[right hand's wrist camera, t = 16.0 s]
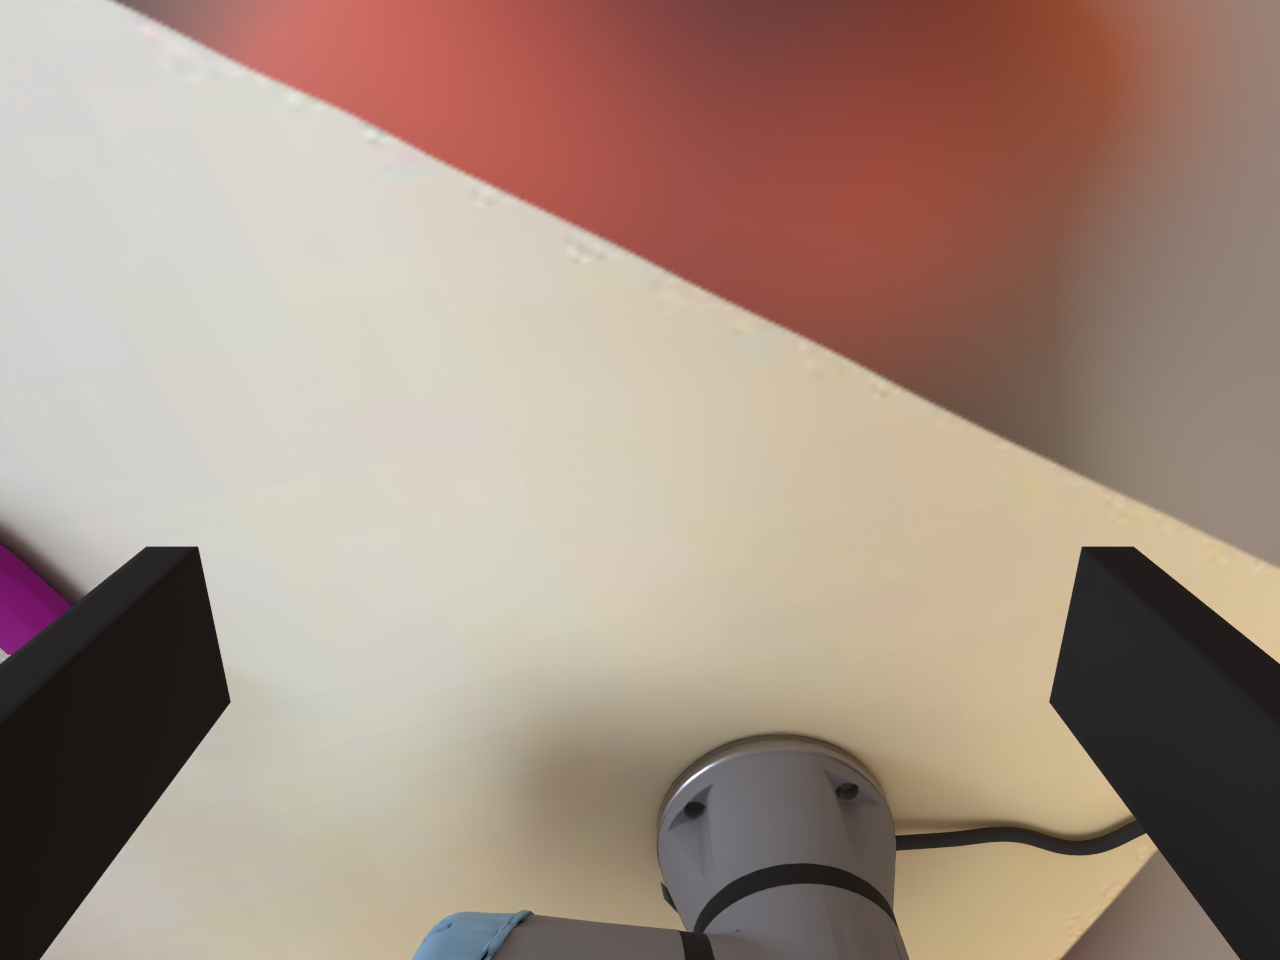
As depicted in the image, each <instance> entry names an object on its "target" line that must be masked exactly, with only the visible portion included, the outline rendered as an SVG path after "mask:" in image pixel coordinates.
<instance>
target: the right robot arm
mask: <svg viewBox="0 0 1280 960" xmlns="http://www.w3.org/2000/svg"><path fill="white" fill-rule="evenodd" d="M230 702H231V701H230V696H229V692H228V687H227V682H226V677H225V673H224V668H223V663H222V658H221V654H220V649H219V644H218V639H217V635H216V630H215V625H214V620H213V616H212V611H211V606H210V601H209V597H208V592H207V587H206V582H205V578H204V573H203V568H202V563H201V558H200V554H199V549H198V547H145V548H144V549H143V550H142V551H140V552H139V553H138V554H137V555H135V556H134V557H133V558H132V559H130V560H129V561H128V562H127V563H126V564H124V565H123V566H122V567H121V568H119V569H118V570H117V571H116V572H114V573H113V574H112V575H111V576H109V577H108V578H107V579H106V580H104V581H103V582H102V583H101V584H99V585H98V586H97V587H96V588H94V589H93V590H92V591H91V592H89V593H88V594H87V595H86V596H84V597H83V598H82V599H81V600H79V601H78V602H77V603H76V604H74V605H73V606H72V607H71V608H69V609H68V610H67V611H66V612H65V613H63V614H62V615H61V616H60V617H58V618H57V619H56V620H55V621H53V622H52V623H51V624H50V625H48V626H47V627H46V628H45V629H43V630H42V631H41V632H40V633H38V634H37V635H36V636H35V637H33V638H32V639H31V640H30V641H28V642H27V643H26V644H25V645H23V646H22V647H21V648H20V649H18V650H17V651H16V652H15V653H13V654H12V655H11V656H10V657H8V658H7V659H6V660H5V661H3V662H2V663H1V664H0V960H40V958H41V957H42V956H43V954H44V953H45V952H46V950H47V949H48V947H49V946H50V945H51V943H52V942H53V941H54V939H55V938H56V937H57V935H58V934H59V933H60V931H61V930H62V929H63V927H64V926H65V925H66V923H67V922H68V921H69V919H70V918H71V917H72V915H73V914H74V912H75V911H76V910H77V908H78V907H79V906H80V904H81V903H82V902H83V900H84V899H85V898H86V896H87V895H88V894H89V892H90V891H91V890H92V888H93V887H94V886H95V884H96V883H97V881H98V880H99V879H100V877H101V876H102V875H103V873H104V872H105V871H106V869H107V868H108V867H109V865H110V864H111V863H112V861H113V860H114V859H115V857H116V856H117V855H118V853H119V852H120V850H121V849H122V848H123V846H124V845H125V844H126V842H127V841H128V840H129V838H130V837H131V836H132V834H133V833H134V832H135V830H136V829H137V828H138V826H139V825H140V824H141V822H142V821H143V819H144V818H145V817H146V815H147V814H148V813H149V811H150V810H151V809H152V807H153V806H154V805H155V803H156V802H157V801H158V799H159V798H160V797H161V795H162V794H163V793H164V791H165V790H166V788H167V787H168V786H169V784H170V783H171V782H172V780H173V779H174V778H175V776H176V775H177V774H178V772H179V771H180V770H181V768H182V767H183V766H184V764H185V763H186V762H187V760H188V759H189V757H190V756H191V755H192V753H193V752H194V751H195V749H196V748H197V747H198V745H199V744H200V743H201V741H202V740H203V739H204V737H205V736H206V735H207V733H208V732H209V731H210V729H211V728H212V726H213V725H214V724H215V722H216V721H217V720H218V718H219V717H220V716H221V714H222V713H223V712H224V710H225V709H226V708H227V706H228V705H229V704H230ZM1049 702H1050V704H1051V705H1052V706H1053V708H1054V709H1055V710H1056V712H1057V713H1058V714H1059V716H1060V717H1061V718H1062V720H1063V721H1064V722H1065V724H1066V725H1067V726H1068V728H1069V729H1070V731H1071V732H1072V733H1073V735H1074V736H1075V737H1076V739H1077V740H1078V741H1079V743H1080V744H1081V745H1082V747H1083V748H1084V749H1085V751H1086V752H1087V753H1088V755H1089V756H1090V757H1091V759H1092V760H1093V762H1094V763H1095V764H1096V766H1097V767H1098V768H1099V770H1100V771H1101V772H1102V774H1103V775H1104V776H1105V778H1106V779H1107V780H1108V782H1109V783H1110V784H1111V786H1112V787H1113V788H1114V790H1115V791H1116V793H1117V794H1118V795H1119V797H1120V798H1121V799H1122V801H1123V802H1124V803H1125V805H1126V806H1127V807H1128V809H1129V810H1130V811H1131V813H1132V814H1133V815H1134V817H1135V818H1136V819H1137V820H1135V821H1133V822H1131V823H1129V824H1127V825H1125V826H1123V827H1121V828H1119V829H1117V830H1115V831H1113V832H1111V833H1109V834H1107V835H1104V836H1101V837H1098V838H1095V839H1091V840H1084V841H1068V840H1062V839H1057V838H1054V837H1050V836H1047V835H1044V834H1041V833H1038V832H1034V831H1030V830H1026V829H1020V828H1011V827H991V828H980V829H972V830H964V831H955V832H944V833H930V834H915V835H900V836H895V828H894V822H893V818H892V814H891V812H890V809H889V807H888V804H887V801H886V799H885V796H884V794H883V791H882V789H881V787H880V785H879V783H878V782H877V780H876V779H875V777H874V776H873V775H872V773H871V772H870V771H869V770H868V769H867V768H866V767H865V766H864V765H863V764H862V763H861V762H859V761H858V760H857V759H856V758H854V757H853V756H851V755H850V754H849V753H847V752H845V751H843V750H842V749H840V748H838V747H835V746H833V745H831V744H828V743H825V742H822V741H819V740H816V739H812V738H807V737H801V736H793V735H766V736H757V737H751V738H747V739H743V740H739V741H735V742H732V743H729V744H727V745H724V746H722V747H720V748H717V749H715V750H713V751H711V752H710V753H708V754H706V755H704V756H703V757H701V758H700V759H698V760H697V761H695V762H694V763H693V764H692V765H690V766H689V767H688V768H687V769H686V770H685V771H684V772H683V773H682V774H681V775H680V776H679V777H678V778H677V779H676V781H675V782H674V783H673V784H672V786H671V787H670V789H669V790H668V792H667V794H666V796H665V798H664V800H663V802H662V805H661V808H660V811H659V815H658V821H657V854H658V861H659V865H660V869H661V872H662V876H663V879H664V882H665V884H666V886H667V887H666V886H665V885H664V884H663V883H662V882H661V886H662V890H663V895H664V899H665V900H666V901H667V902H668V903H669V904H670V905H671V906H672V907H673V908H674V909H675V910H676V911H677V912H678V913H679V915H680V918H681V920H682V922H683V924H684V927H685V929H686V931H687V932H685V931H679V930H672V929H662V928H652V927H641V926H631V925H621V924H610V923H600V922H591V921H582V920H574V919H566V918H557V917H549V916H540V915H534V913H532V912H531V911H527V910H523V911H520V912H518V913H516V914H509V913H481V912H460V913H456V914H453V915H451V916H448V917H446V918H445V919H443V920H442V921H440V922H439V923H438V924H437V925H436V926H435V927H433V929H432V930H431V931H430V932H429V933H428V935H427V936H426V937H425V939H424V940H423V942H422V944H421V945H420V946H419V948H418V950H417V952H416V953H415V955H414V957H413V959H412V960H909V957H908V954H907V951H906V948H905V945H904V942H903V940H902V937H901V934H900V932H899V929H898V926H897V922H896V919H895V916H894V913H893V901H894V880H895V858H896V851H897V850H911V849H926V848H940V847H953V846H963V845H971V844H979V843H987V842H1018V843H1024V844H1028V845H1032V846H1035V847H1038V848H1041V849H1045V850H1048V851H1051V852H1055V853H1060V854H1066V855H1091V854H1098V853H1102V852H1105V851H1108V850H1111V849H1114V848H1116V847H1119V846H1121V845H1123V844H1125V843H1127V842H1129V841H1131V840H1133V839H1135V838H1137V837H1139V836H1141V835H1143V834H1145V833H1147V834H1148V836H1149V837H1150V838H1151V840H1152V841H1153V842H1154V844H1155V845H1156V846H1157V848H1158V849H1159V850H1160V852H1161V853H1162V855H1163V856H1164V857H1165V859H1166V860H1167V861H1168V863H1169V864H1170V865H1171V867H1172V868H1173V869H1174V871H1175V872H1176V873H1177V875H1178V876H1179V877H1180V879H1181V880H1182V881H1183V883H1184V884H1185V886H1186V887H1187V888H1188V890H1189V891H1190V892H1191V894H1192V895H1193V896H1194V898H1195V899H1196V900H1197V902H1198V903H1199V904H1200V906H1201V907H1202V908H1203V910H1204V911H1205V912H1206V914H1207V915H1208V917H1209V918H1210V919H1211V921H1212V922H1213V923H1214V925H1215V926H1216V927H1217V929H1218V930H1219V931H1220V933H1221V934H1222V935H1223V937H1224V938H1225V939H1226V941H1227V942H1228V943H1229V945H1230V946H1231V947H1232V949H1233V950H1234V952H1235V953H1236V954H1237V955H1238V957H1239V958H1240V960H1280V664H1279V663H1278V662H1277V661H1275V660H1274V659H1273V658H1272V657H1270V656H1269V655H1268V654H1267V653H1265V652H1264V651H1263V650H1262V649H1260V648H1259V647H1258V646H1257V645H1255V644H1254V643H1253V642H1252V641H1250V640H1249V639H1248V638H1247V637H1245V636H1244V635H1243V634H1242V633H1240V632H1239V631H1238V630H1237V629H1235V628H1234V627H1233V626H1232V625H1230V624H1229V623H1228V622H1227V621H1225V620H1224V619H1223V618H1222V617H1220V616H1219V615H1218V614H1217V613H1215V612H1214V611H1213V610H1212V609H1211V608H1209V607H1208V606H1207V605H1206V604H1204V603H1203V602H1202V601H1201V600H1199V599H1198V598H1197V597H1196V596H1194V595H1193V594H1192V593H1191V592H1189V591H1188V590H1187V589H1186V588H1184V587H1183V586H1182V585H1181V584H1179V583H1178V582H1177V581H1176V580H1174V579H1173V578H1172V577H1171V576H1169V575H1168V574H1167V573H1166V572H1164V571H1163V570H1162V569H1161V568H1159V567H1158V566H1157V565H1156V564H1154V563H1153V562H1152V561H1151V560H1150V559H1148V558H1147V557H1146V556H1145V555H1143V554H1142V553H1141V552H1140V551H1138V550H1137V549H1136V548H1135V547H1082V549H1081V554H1080V558H1079V563H1078V568H1077V573H1076V578H1075V582H1074V587H1073V592H1072V597H1071V601H1070V606H1069V611H1068V616H1067V620H1066V625H1065V630H1064V635H1063V639H1062V644H1061V649H1060V654H1059V658H1058V663H1057V668H1056V673H1055V677H1054V682H1053V687H1052V692H1051V696H1050V701H1049Z"/></svg>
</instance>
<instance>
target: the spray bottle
mask: <svg viewBox="0 0 1280 960" xmlns="http://www.w3.org/2000/svg"><path fill="white" fill-rule="evenodd" d="M71 607H72V606H71V605H70V604H69V603H68V602H67V601H66V600H65V599H64V598H63V597H62V596H60V595H59V594H58V593H57V592H56V591H55V590H54V589H52V588H51V587H50V586H49V585H48V584H47V583H46V582H45V581H44V580H42V579H41V578H40V577H39V576H38V575H37V574H36V573H35V572H34V571H32V570H31V569H30V568H29V567H28V566H27V565H26V564H25V563H24V562H23V561H22V560H21V559H20V558H18V557H17V556H16V555H15V554H13V553H12V552H10V551H9V550H7V549H6V548H5V547H3V546H2V545H0V648H1V649H2V650H3V651H5V652H6V653H7V654H10V655H12V654H13V653H15V652H16V651H17V650H18V649H20V648H21V647H22V646H23V645H25V644H26V643H27V642H28V641H30V640H31V639H32V638H33V637H35V636H36V635H37V634H38V633H40V632H41V631H42V630H43V629H45V628H46V627H47V626H48V625H50V624H51V623H52V622H53V621H55V620H56V619H57V618H58V617H60V616H61V615H62V614H63V613H65V612H66V611H67V610H68V609H69V608H71Z"/></svg>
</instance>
